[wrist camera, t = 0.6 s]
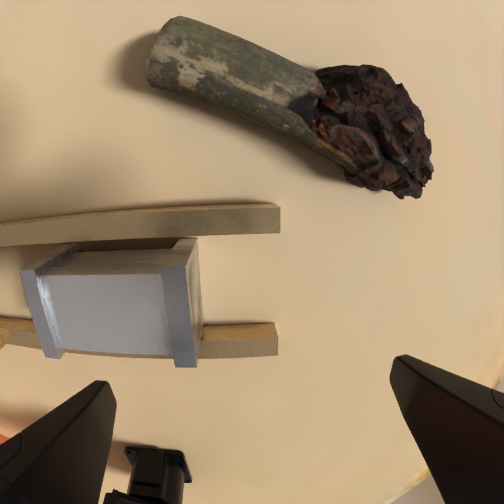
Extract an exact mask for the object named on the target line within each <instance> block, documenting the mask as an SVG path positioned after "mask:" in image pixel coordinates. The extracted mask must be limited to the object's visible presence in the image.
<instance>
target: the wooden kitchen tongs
mask: <svg viewBox="0 0 504 504" xmlns="http://www.w3.org/2000/svg"><path fill="white" fill-rule="evenodd" d="M265 233H280V207H279V206H278V205H276V204H275V203H263V204H225V205H199V206H179V207H161V208H145V209H130V210H117V211H105V212H93V213H82V214H72V215H62V216H53V217H44V218H35V219H27V220H19V221H12V222H4V223H0V247H3V246H17V245H31V244H46V243H62V242H79V241H97V240H116V239H135V238H157V237H180V236H205V235H233V234H265ZM6 343H7V344H12V345H18V346H24V347H30V348H37V349H42V346H41V343H40V340H39V338H38V335H37V332H36V329H35V325H34V322H33V320H25V319H16V318H7V317H0V349H1V348H2V347H3V346H4V345H5V344H6ZM66 352H68V353H78V354H88V355H100V356H114V357H131V358H158V359H174V357H173V355H148V354H124V353H107V352H94V351H82V350H72V349H67V350H66ZM276 355H278V335H277V332H276V328H275V325H274V323H263V324H243V325H216V326H202V333H201V340H200V348H199V355H198V359H216V358H243V357H261V356H276Z"/></svg>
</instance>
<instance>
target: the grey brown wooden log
mask: <svg viewBox="0 0 504 504" xmlns="http://www.w3.org/2000/svg"><path fill="white" fill-rule="evenodd" d="M145 77H146V81H147V82H148V83H147V84H148V86H150V87H154V88H157V89H161V90H165V91H169V92H172V93H176V94H179V95H182V96H185V97H188V98H192V99H195V100H198V101H201V102H203V103H206V104H209V105H212V106H214V107H217V108H220V109H223V110H225V111H228V112H230V113H233V114H236V115H238V116H241V117H244V118H246V119H248V120H250V121H252V122H254V123H257V124H259V125H261V126H264V127H266V128H268V129H270V130H273V131H275V132H277V133H279V134H281V135H283V136H286V137H288V138H290V139H292V140H294V141H296V142H298V143H300V144H302V145H304V146H306V147H308V148H310V149H312V150H314V151H316V152H318V153H320V154H322V155H324V156H325V157H327V158H329V159H331V160H332V161H334V162H336V163H337V165H338V166H339V167H341V168H342V169H343V170H344V176H345V177H346V179H347V180H348V181H349V182H350V183H352V184H353V185H355V186H358V187H361V188H362V187H365V188H367V189H369V190H371V191H377V190H381V189H384V190H387V191H392V192H393V193H394V194H395V195H396V196H397V197H398V198H399V199H404V196H406V195H407V196H411V197H413V198H415V199H417V198H420V197H421V194H422V187H426V186H425V184H426V183H427V182H428V180H429V179H430V180H432V172H434V169H433V165H432V163H431V161H430V159H429V157H430V155H431V153H432V151H431V140H430V139H428V138H427V137H426V135H425V132H424V118H423V116H422V114H421V110H420V109H418V108H419V107H417V106H416V105H415V104H414V103H413V102H412V100H411V98H410V97H409V94H408V92H407V91H406V89H405V88H404V86H403V84H402V83H401V84H395V82H394V80H393V79H392V77H391V76H390V75H389V73H388V72H387V71H386V70H385V69H383V68H379V67H376V66H372V65H364V64H363V65H361V66H349V65H341V66H334V67H327V68H322V69H319V70H317V71H316V72H315V73H313V72H311V71H309V70H308V69H306V68H304V67H302V66H300V65H298V64H296V63H294V62H292V61H290V60H288V59H286V58H284V57H282V56H280V55H277V54H275V53H273V52H271V51H269V50H267V49H265V48H263V47H260V46H258V45H256V44H254V43H252V42H249V41H247V40H245V39H242V38H240V37H238V36H235V35H233V34H230V33H228V32H225V31H223V30H220V29H218V28H215V27H212V26H210V25H207V24H204V23H202V22H199V21H196V20H193V19H190V18H186V17H182V16H177V17H175V18H171V19H170V20H169V21H168V22H166V23H165V24H164V26H163V27H162V29H161V30H160V32H159V34H158V36H157V38H156V41H155V43H154V44H153V46H152V48H151V51H150V54H149V56H148V59H147V62H146V67H145Z"/></svg>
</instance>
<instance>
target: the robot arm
mask: <svg viewBox="0 0 504 504" xmlns="http://www.w3.org/2000/svg"><path fill="white" fill-rule="evenodd" d="M390 384H391V386H392V389H393V391H394V394H395V397H396V399H397V402H398V404H399V407H400V410H401V412H402V415H403V417H404V419H405V421H406V424H407V425H408V427H409V429H410V431H411V433H412V435H413V437H414V439H415V441H416V443H417V445H418V447H419V449H420V451H421V453H422V455H423V457H424V459H425V462H426V464H427V466H428V468H429V470H430V472H431V474H432V476H433V478H434V480H435V482H436V485H437V487H438V489H439V491H440V493H441V496H442V498H443V500H444V502H445V504H504V393H502V392H499V391H497V390H494V389H490V388H489V387H486V386H484V385H481V384H478V383H476V382H473V381H471V380H468V379H466V378H463V377H461V376H458V375H456V374H453V373H451V372H448V371H446V370H443V369H441V368H438V367H436V366H433V365H431V364H429V363H426V362H424V361H421V360H419V359H416V358H414V357H412V356H409V355H407V354H405V355H400V356H397V357H395V358H394V361H393V365H392V369H391V373H390ZM116 407H117V404H116V399H115V397H114V394H113V392H112V389H111V387H110V384H109V383H108V382H107V381H100V380H96V381H94V382H93V383H91V384H90V385H88V386H87V387H85V388H84V389H82V390H81V391H80V392H78V393H77V394H75V395H74V396H72V397H71V398H69V399H68V400H67V401H65V402H64V403H62V404H61V405H59V406H58V407H56V408H55V409H53V410H52V411H50V412H49V413H48V414H46V415H45V416H43V417H42V418H40V419H39V420H37V421H36V422H34V423H33V424H31V425H30V426H28V427H27V428H25V429H24V430H22V431H21V432H19V433H18V434H16V435H15V436H13V437H12V438H10V439H9V440H7V441H6V442H4V443H2V444H1V445H0V504H98V502H99V497H100V492H101V487H102V482H103V478H104V473H105V469H106V465H107V461H108V456H109V452H110V448H111V443H112V435H113V428H114V421H115V414H116ZM124 452H125V454H126V456H127V458H128V459H129V461H130V463H131V465H132V471H131V476H130V480H129V485H128V489H127V494H125V493H122V492H119V491H118V490H115V489H113V492H112V493H106V494H105V498H104V502H103V504H182V501H183V488H184V483H191V482H192V477H191V474H190V471H189V468H188V465H187V462H186V459H185V456H184V453H182V452H178V451H162V450H150V449H140V448H132V447H125V450H124Z"/></svg>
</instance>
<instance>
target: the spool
mask: <svg viewBox="0 0 504 504" xmlns="http://www.w3.org/2000/svg"><path fill="white" fill-rule="evenodd" d="M20 274H21V278H22V282H23V286H24V290H25V294H26V298H27V302H28V305H29V309H30V312H31V316H32V319H33V322H34V325H35V329H36V332H37V335H38V338H39V340H40V343H41V346H42V349H43V352H44V354H45V357H48V358H55V359H60V358H61V357H62V356H63V354H64V353H65V352H66V350H67V349H72V350H82V351H94V352H107V353H124V354H148V355H173V357H174V363H175V367H187V368H193V367H197V363H198V355H199V348H200V340H201V333H202V325H203V307H202V295H201V283H200V270H199V255H198V239H197V238H184V239H179V240H178V241H177V243H176V244H175V246H174V247H173V248H167V249H141V250H116V251H93V252H79V249H78V244H64V245H62V246H60V247H59V248H57V249H55V250H53V251H52V252H50V253H48V254H46V255H45V256H43V257H41V258H39V259H38V260H36V261H34V262H32V263H31V264H29V265H27V266H26V267H24V268H22V269H21V270H20Z"/></svg>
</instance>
